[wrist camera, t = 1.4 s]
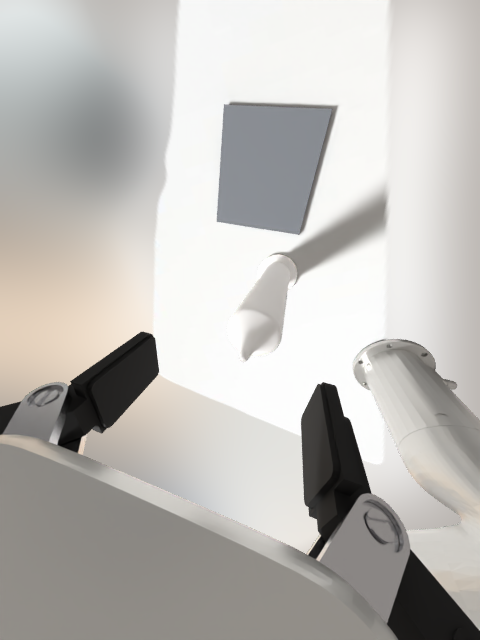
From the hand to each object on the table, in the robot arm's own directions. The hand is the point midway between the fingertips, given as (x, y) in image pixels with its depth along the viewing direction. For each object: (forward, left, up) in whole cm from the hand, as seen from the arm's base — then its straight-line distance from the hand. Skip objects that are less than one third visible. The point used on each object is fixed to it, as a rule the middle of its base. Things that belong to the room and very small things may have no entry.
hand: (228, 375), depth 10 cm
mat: (+5, -14, -27) cm, 30 cm away
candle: (0, 0, -27) cm, 27 cm away
